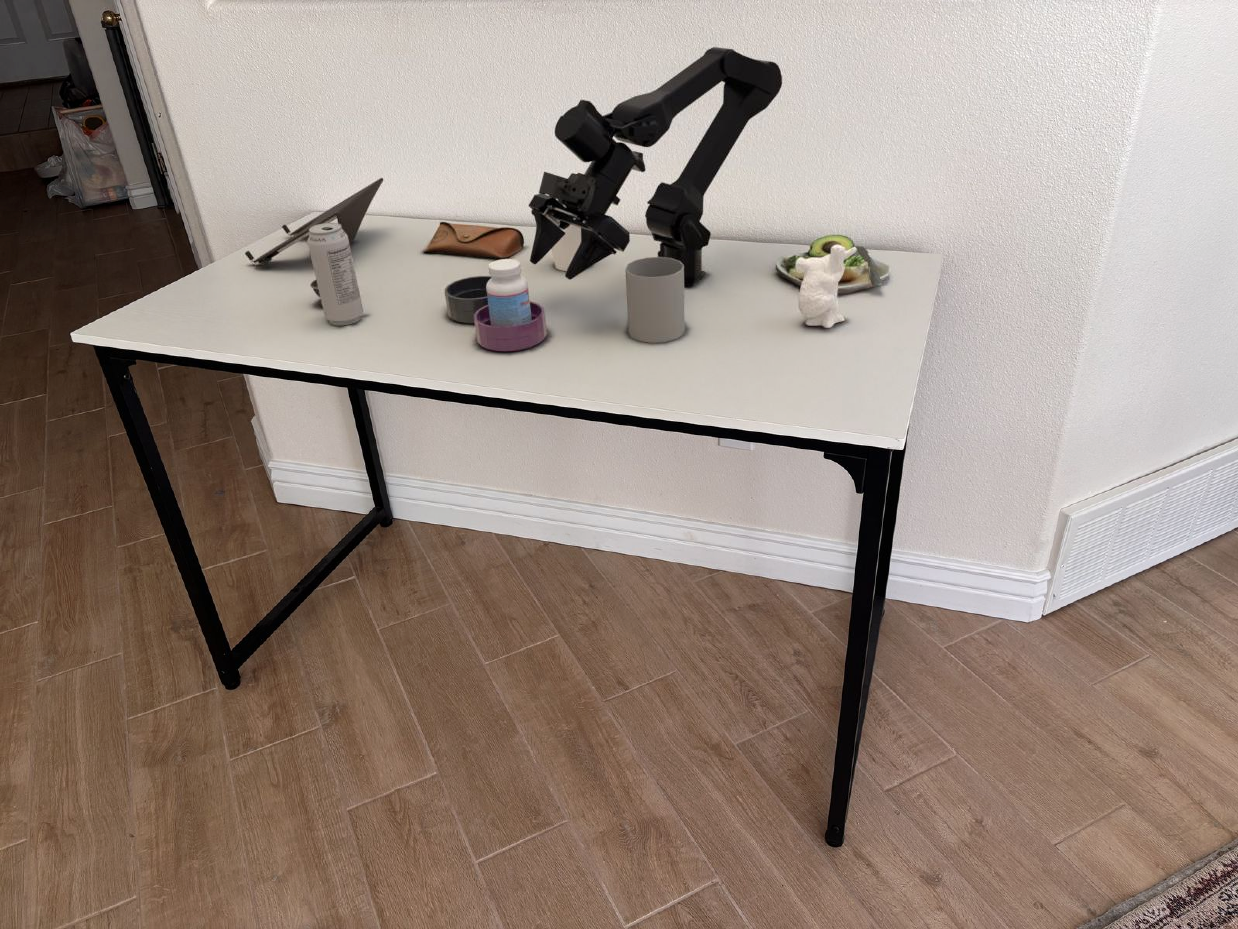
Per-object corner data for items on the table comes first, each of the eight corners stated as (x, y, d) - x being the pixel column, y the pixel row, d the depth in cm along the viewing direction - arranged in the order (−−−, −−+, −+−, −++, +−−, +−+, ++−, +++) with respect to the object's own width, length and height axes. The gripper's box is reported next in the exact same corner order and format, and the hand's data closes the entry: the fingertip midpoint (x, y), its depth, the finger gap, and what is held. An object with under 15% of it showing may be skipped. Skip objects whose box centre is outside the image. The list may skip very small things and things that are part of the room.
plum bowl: (559, 329, 141) (556, 304, 139) (523, 357, 133) (520, 331, 131) (501, 320, 145) (498, 296, 143) (463, 346, 137) (460, 321, 135)
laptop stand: (317, 259, 192) (289, 220, 189) (403, 209, 184) (376, 167, 180) (267, 301, 173) (235, 259, 169) (360, 248, 165) (328, 202, 161)
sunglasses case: (419, 251, 174) (423, 215, 173) (438, 258, 180) (443, 224, 180) (505, 258, 168) (510, 221, 167) (521, 266, 174) (526, 230, 174)
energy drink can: (347, 309, 152) (327, 219, 144) (372, 316, 149) (353, 224, 141) (318, 322, 148) (296, 230, 140) (343, 329, 145) (322, 236, 137)
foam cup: (609, 265, 164) (604, 191, 157) (564, 278, 159) (558, 203, 152) (580, 252, 170) (575, 180, 163) (537, 264, 166) (529, 191, 159)
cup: (645, 347, 134) (642, 281, 129) (618, 328, 140) (615, 264, 135) (695, 333, 137) (694, 269, 132) (667, 315, 143) (665, 253, 138)
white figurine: (850, 315, 140) (857, 238, 134) (850, 333, 134) (857, 253, 128) (794, 313, 142) (798, 236, 135) (791, 331, 136) (795, 252, 130)
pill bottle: (535, 341, 137) (527, 268, 131) (493, 346, 136) (484, 273, 130) (531, 325, 142) (523, 254, 136) (491, 330, 141) (482, 259, 135)
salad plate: (921, 286, 148) (925, 258, 146) (826, 307, 143) (828, 279, 140) (850, 251, 164) (852, 225, 161) (762, 269, 158) (763, 243, 156)
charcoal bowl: (522, 304, 150) (519, 280, 148) (488, 328, 143) (485, 302, 140) (471, 296, 154) (468, 272, 152) (435, 319, 147) (431, 294, 144)
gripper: (532, 138, 139) (479, 228, 139) (609, 159, 126) (550, 258, 126) (578, 180, 147) (528, 265, 147) (655, 203, 134) (599, 296, 134)
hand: (549, 270), depth 139 cm, fingers open, 9 cm apart
